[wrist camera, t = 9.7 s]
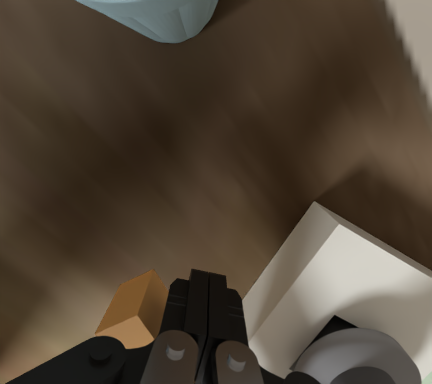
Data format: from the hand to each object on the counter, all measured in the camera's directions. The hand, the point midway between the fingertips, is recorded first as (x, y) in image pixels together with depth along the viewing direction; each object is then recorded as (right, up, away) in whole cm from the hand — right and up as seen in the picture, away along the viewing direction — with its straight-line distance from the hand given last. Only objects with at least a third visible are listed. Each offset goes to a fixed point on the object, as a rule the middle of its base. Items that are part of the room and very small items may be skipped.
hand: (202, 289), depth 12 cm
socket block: (+9, -6, +10) cm, 15 cm away
